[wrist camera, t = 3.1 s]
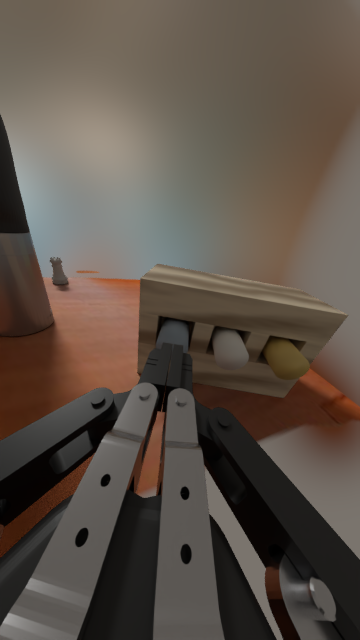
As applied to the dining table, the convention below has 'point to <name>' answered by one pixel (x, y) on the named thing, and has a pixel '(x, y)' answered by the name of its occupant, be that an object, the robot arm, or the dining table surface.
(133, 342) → the dining table surface
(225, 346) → the white button
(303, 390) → the dining table surface
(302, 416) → the dining table surface
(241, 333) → the block
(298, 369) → the ochre button
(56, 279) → the rook chess piece
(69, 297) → the dining table surface
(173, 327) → the slate button
